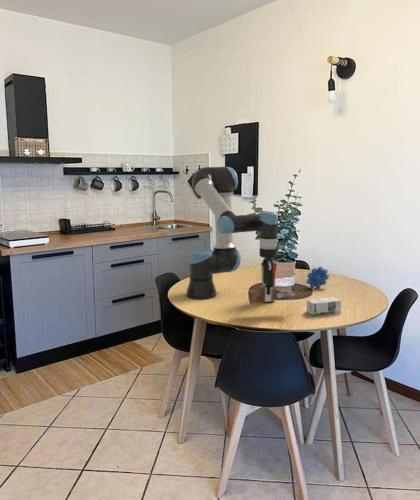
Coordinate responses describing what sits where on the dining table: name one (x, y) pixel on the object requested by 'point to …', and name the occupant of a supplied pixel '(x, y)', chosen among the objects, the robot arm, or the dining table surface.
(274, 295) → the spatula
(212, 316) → the dining table surface
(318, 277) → the grapes
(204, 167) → the robot arm
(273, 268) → the liquor
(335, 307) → the syrup box
